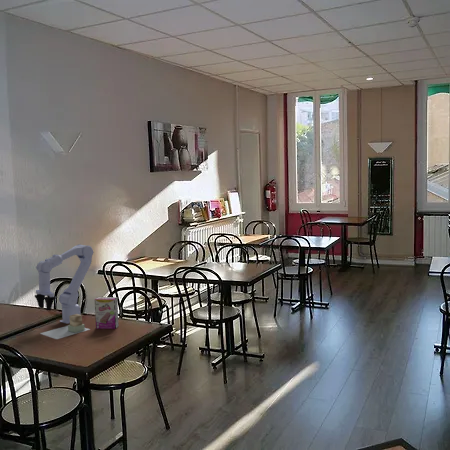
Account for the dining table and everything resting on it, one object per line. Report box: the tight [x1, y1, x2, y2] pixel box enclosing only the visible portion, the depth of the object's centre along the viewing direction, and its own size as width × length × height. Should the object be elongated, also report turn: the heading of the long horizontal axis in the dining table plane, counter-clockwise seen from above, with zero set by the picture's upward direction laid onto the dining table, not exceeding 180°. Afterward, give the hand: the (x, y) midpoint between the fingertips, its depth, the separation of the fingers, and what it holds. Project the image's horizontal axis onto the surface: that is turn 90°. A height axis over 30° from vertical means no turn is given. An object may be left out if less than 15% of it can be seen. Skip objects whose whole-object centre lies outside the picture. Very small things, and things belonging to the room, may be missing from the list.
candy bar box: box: [94, 296, 119, 330], centre depth 279 cm, size 11×5×16 cm, turn 84°
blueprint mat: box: [39, 325, 91, 340], centre depth 274 cm, size 20×16×1 cm
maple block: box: [69, 314, 83, 327], centre depth 275 cm, size 4×4×5 cm
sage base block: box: [67, 323, 86, 333], centre depth 275 cm, size 6×6×3 cm
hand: (45, 308), depth 282 cm, fingers open, 7 cm apart
